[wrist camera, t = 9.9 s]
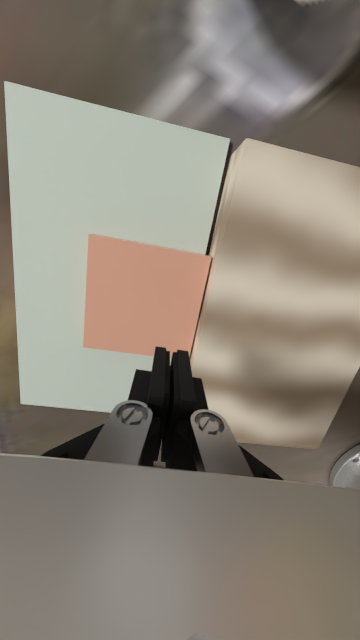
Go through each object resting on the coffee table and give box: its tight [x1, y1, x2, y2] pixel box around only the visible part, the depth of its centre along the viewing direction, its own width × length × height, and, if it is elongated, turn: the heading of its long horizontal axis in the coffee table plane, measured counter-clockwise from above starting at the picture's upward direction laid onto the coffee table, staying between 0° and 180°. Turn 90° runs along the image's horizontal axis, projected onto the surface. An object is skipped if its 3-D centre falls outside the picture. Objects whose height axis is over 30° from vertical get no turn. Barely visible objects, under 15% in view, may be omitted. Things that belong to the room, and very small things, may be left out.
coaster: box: [83, 234, 211, 359], centre depth 22 cm, size 10×10×2 cm
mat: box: [4, 81, 230, 412], centre depth 22 cm, size 28×17×1 cm, turn 170°
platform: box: [189, 138, 360, 449], centre depth 23 cm, size 26×16×4 cm, turn 170°
